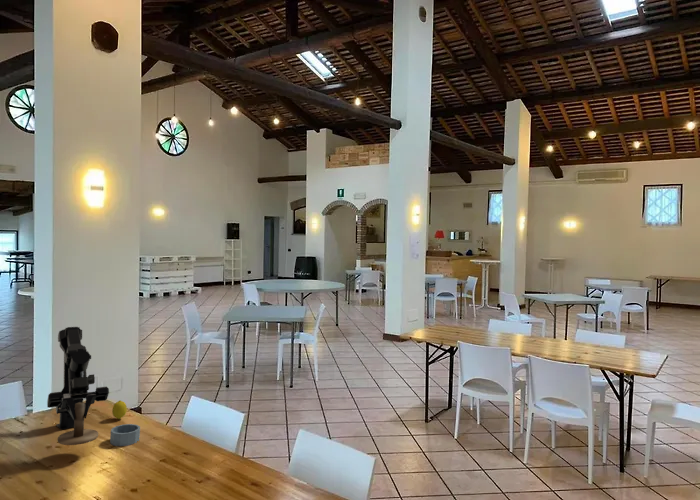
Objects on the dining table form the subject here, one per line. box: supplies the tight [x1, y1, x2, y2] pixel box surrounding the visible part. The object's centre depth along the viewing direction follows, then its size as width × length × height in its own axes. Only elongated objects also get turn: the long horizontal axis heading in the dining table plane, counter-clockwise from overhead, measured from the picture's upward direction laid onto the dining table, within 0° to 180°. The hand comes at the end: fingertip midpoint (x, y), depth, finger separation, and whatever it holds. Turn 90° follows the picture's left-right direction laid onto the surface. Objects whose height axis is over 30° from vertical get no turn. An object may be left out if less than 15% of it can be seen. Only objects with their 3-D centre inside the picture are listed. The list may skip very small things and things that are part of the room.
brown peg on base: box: [57, 401, 99, 446], centre depth 165 cm, size 12×12×12 cm
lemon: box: [111, 400, 128, 420], centre depth 202 cm, size 6×6×8 cm
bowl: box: [109, 423, 141, 447], centre depth 180 cm, size 10×10×4 cm
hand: (79, 418), depth 164 cm, fingers closed on brown peg on base, 3 cm apart
